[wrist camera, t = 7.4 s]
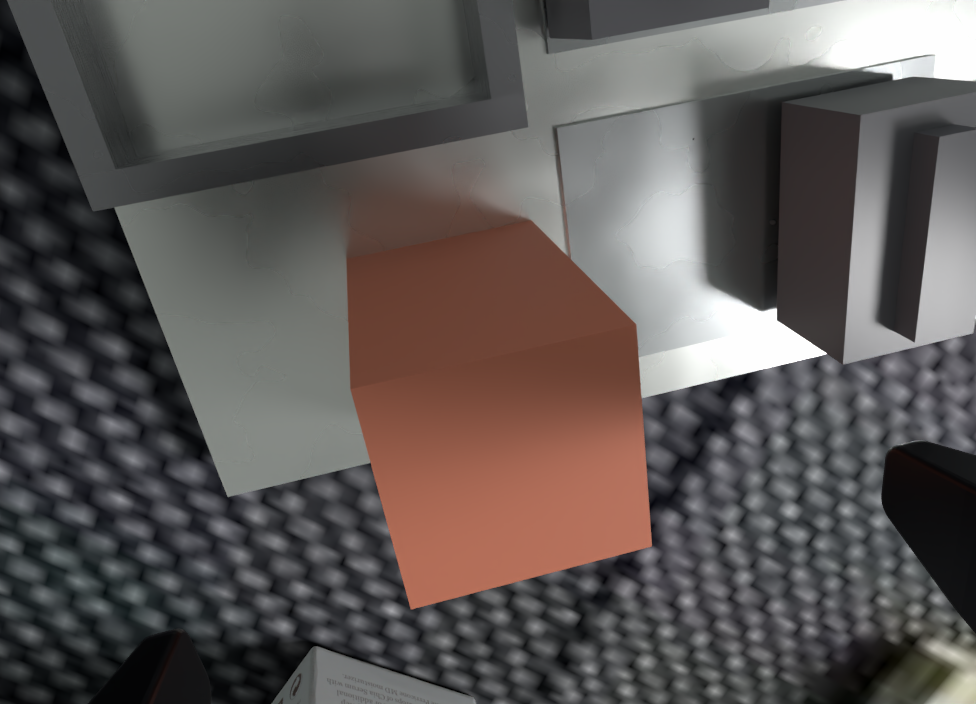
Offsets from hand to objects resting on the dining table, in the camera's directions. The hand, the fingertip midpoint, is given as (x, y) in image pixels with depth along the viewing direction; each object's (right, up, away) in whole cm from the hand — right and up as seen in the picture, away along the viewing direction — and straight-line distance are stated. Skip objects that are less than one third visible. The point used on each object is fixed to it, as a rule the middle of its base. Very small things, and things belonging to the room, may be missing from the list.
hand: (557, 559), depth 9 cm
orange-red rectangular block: (-2, +3, +7) cm, 8 cm away
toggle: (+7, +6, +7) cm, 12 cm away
